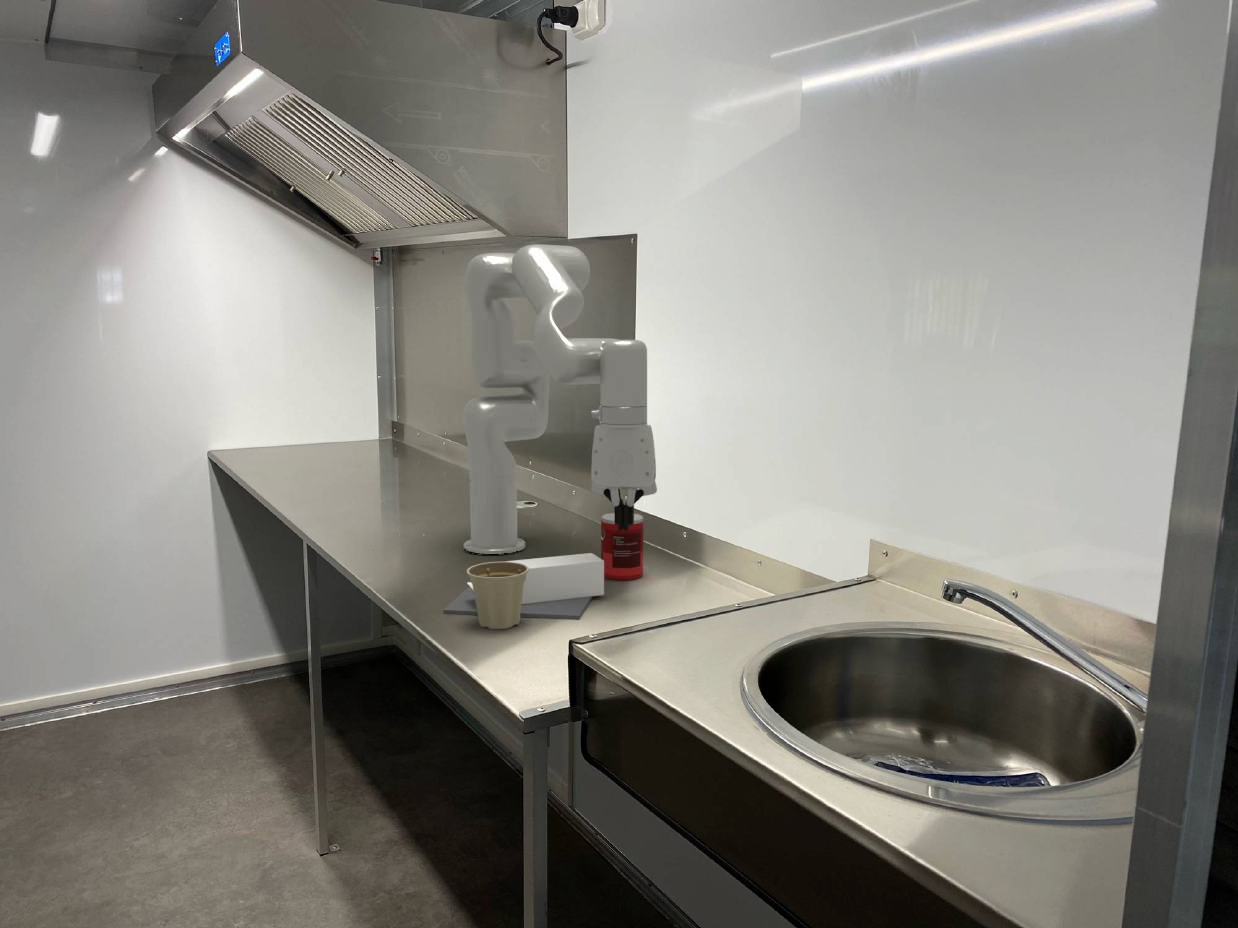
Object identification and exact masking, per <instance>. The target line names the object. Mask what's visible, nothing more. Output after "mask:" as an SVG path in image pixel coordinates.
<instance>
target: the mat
mask: <svg viewBox="0 0 1238 928" xmlns="http://www.w3.org/2000/svg"><path fill="white" fill-rule="evenodd" d="M593 597H594V596H590V597H582V598H573V599H565V600H556V601H548V602H539V603H531V604H522V605H521V613H520V618H537V619H538V618H541V619H561V620H562V619H563V620H564V619H565V620H580V619H581V617H582V615H583V614H584V612H585V611H586V609H587V607H588V605H590V602H591V601H592V599H593ZM443 614H446V615H447V614H449V615H469V616H478V613H477V607H476V601H475V596H474V590H473V589H472V588H471V587H470V586H469V585H468V587H467V588H466V589H465V590H464V591H462V593H460V594H459V595H458V596H456V598H454V600H452V602H450V604H448V605H447V606H445V608H444V609H443Z"/></svg>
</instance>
